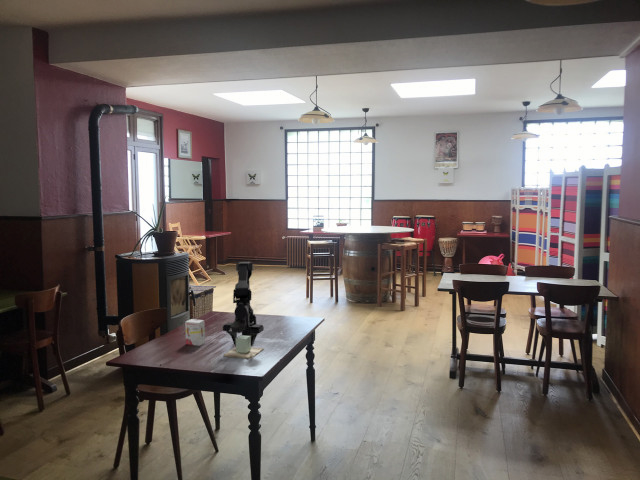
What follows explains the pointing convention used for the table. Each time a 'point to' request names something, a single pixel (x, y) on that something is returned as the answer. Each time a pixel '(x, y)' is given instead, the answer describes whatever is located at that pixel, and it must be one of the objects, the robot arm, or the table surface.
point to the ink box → (195, 332)
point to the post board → (247, 355)
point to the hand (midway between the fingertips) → (243, 345)
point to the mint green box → (243, 344)
